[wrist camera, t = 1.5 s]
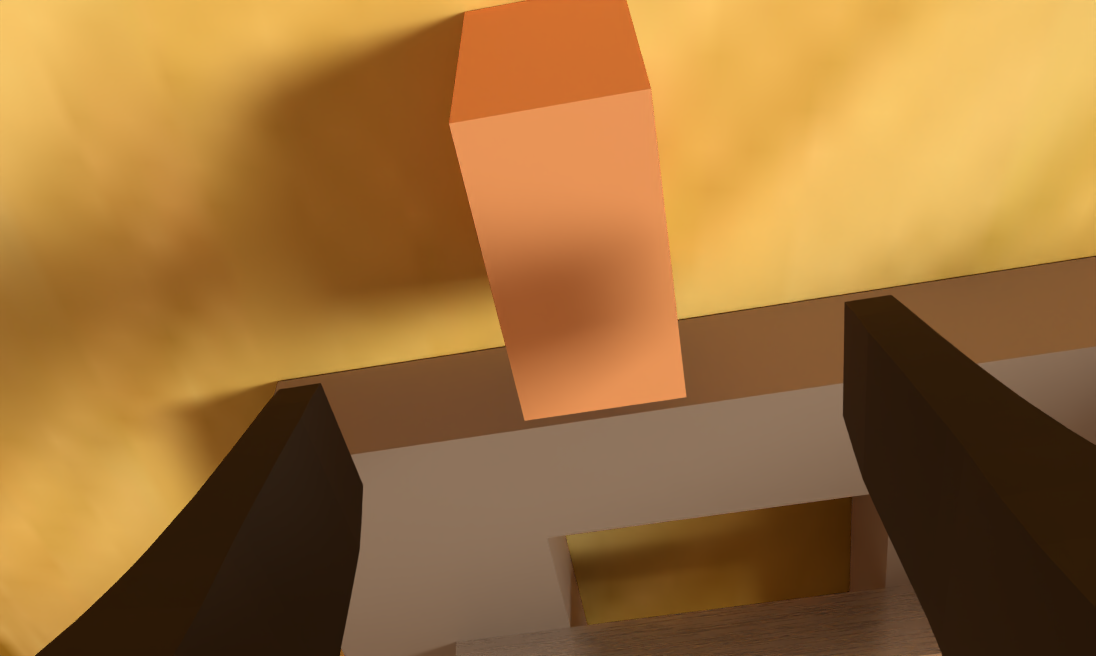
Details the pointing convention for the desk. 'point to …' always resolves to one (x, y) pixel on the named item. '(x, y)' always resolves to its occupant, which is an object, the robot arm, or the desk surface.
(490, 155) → the orange rectangular block
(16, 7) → the desk surface
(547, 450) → the grey slotted tray
